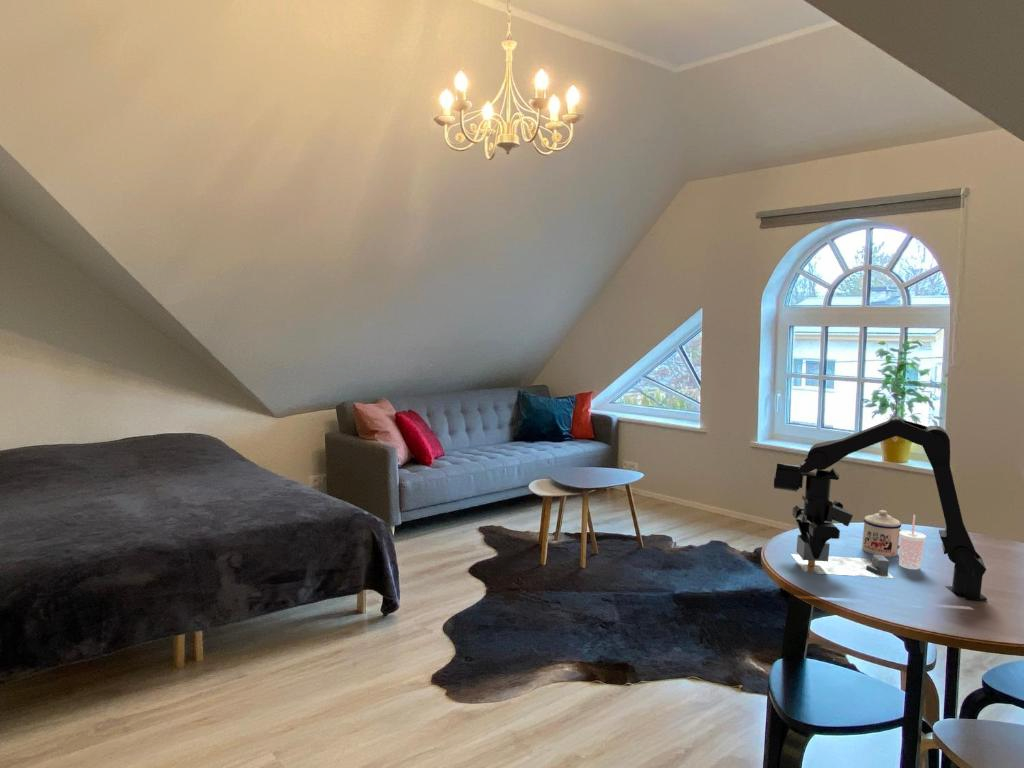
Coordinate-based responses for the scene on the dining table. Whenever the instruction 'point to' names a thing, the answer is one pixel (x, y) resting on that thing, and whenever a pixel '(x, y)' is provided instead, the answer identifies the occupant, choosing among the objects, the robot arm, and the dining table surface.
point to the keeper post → (811, 563)
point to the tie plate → (848, 566)
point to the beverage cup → (911, 548)
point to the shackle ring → (806, 551)
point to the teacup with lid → (881, 534)
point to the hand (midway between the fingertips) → (812, 554)
